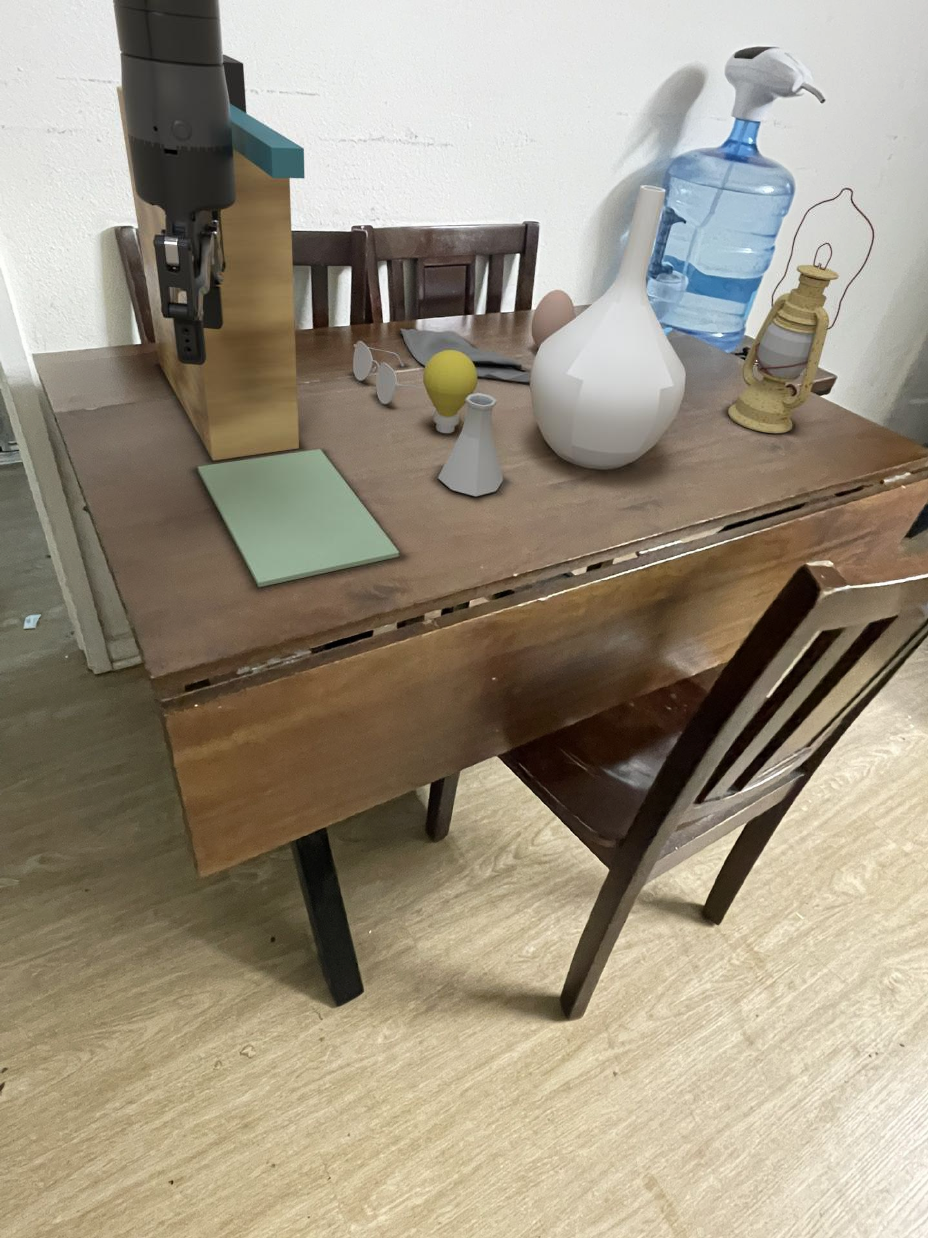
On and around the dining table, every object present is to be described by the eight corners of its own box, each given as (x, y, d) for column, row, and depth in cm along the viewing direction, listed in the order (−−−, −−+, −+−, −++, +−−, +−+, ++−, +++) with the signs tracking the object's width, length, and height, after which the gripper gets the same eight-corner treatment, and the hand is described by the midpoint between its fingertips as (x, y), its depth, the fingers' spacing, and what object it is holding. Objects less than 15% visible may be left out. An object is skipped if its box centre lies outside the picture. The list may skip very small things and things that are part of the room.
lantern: (815, 433, 108) (919, 200, 89) (768, 442, 104) (866, 200, 85) (754, 398, 116) (837, 177, 97) (708, 406, 112) (786, 175, 92)
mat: (399, 557, 74) (399, 551, 74) (258, 587, 68) (258, 582, 68) (320, 453, 88) (320, 448, 88) (198, 471, 82) (197, 466, 82)
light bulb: (415, 416, 98) (421, 340, 92) (465, 417, 100) (474, 342, 93) (423, 440, 93) (429, 361, 87) (475, 441, 95) (485, 363, 88)
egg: (521, 344, 123) (531, 282, 116) (560, 345, 125) (571, 283, 118) (535, 361, 118) (546, 297, 112) (575, 361, 120) (588, 298, 113)
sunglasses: (348, 370, 107) (354, 335, 104) (399, 373, 112) (406, 339, 109) (391, 412, 98) (398, 374, 96) (445, 413, 103) (453, 378, 100)
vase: (523, 480, 89) (574, 196, 69) (516, 412, 103) (557, 160, 83) (675, 495, 90) (766, 220, 71) (647, 426, 104) (717, 181, 85)
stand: (299, 448, 88) (288, 140, 69) (212, 460, 84) (174, 136, 64) (232, 357, 106) (209, 92, 87) (159, 363, 102) (116, 86, 82)
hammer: (326, 178, 58) (325, 100, 55) (249, 177, 56) (244, 95, 52) (227, 114, 76) (222, 53, 73) (165, 111, 74) (157, 47, 70)
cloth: (370, 337, 118) (371, 323, 116) (437, 324, 125) (438, 310, 124) (482, 401, 104) (485, 386, 103) (550, 382, 112) (553, 367, 110)
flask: (477, 504, 83) (488, 420, 77) (426, 479, 86) (434, 396, 80) (513, 482, 88) (527, 401, 82) (464, 459, 91) (474, 379, 85)
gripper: (151, 112, 62) (176, 313, 72) (100, 140, 51) (138, 372, 61) (245, 124, 63) (256, 321, 73) (214, 154, 52) (232, 380, 62)
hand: (202, 344), depth 67 cm, fingers open, 8 cm apart
